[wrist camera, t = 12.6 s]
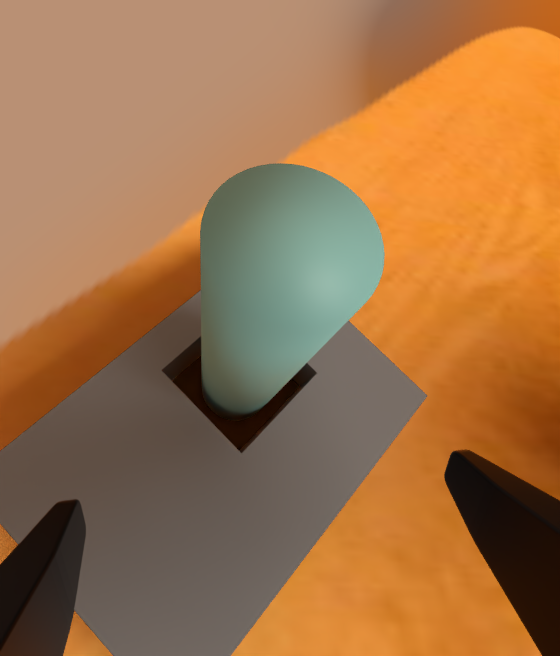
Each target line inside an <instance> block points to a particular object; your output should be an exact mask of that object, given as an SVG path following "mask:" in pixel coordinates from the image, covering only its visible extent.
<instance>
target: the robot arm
mask: <svg viewBox="0 0 560 656" xmlns="http://www.w3.org/2000/svg"><path fill="white" fill-rule="evenodd" d="M444 477H445V482H446V485H447V487H448V489H449V491H450V493H451V495H452V497H453V499H454V501H455V503H456V505H457V507H458V509H459V512H460V514H461V516H462V518H463V520H464V522H465V524H466V526H467V528H468V530H469V532H470V534H471V536H472V538H473V540H474V542H475V544H476V545H477V547H478V549H479V551H480V552H481V554H482V556H483V557H484V559H485V561H486V562H487V564H488V566H489V567H490V569H491V571H492V572H493V574H494V576H495V577H496V579H497V581H498V582H499V584H500V586H501V587H502V589H503V591H504V592H505V594H506V596H507V597H508V599H509V601H510V603H511V604H512V606H513V608H514V609H515V611H516V613H517V614H518V616H519V618H520V619H521V621H522V623H523V624H524V626H525V628H526V629H527V631H528V633H529V634H530V636H531V638H532V639H533V641H534V643H535V644H536V646H537V648H538V650H539V651H540V653H541V655H542V656H560V501H559V500H558V499H556V498H554V497H552V496H551V495H549V494H547V493H545V492H543V491H542V490H540V489H538V488H536V487H534V486H533V485H531V484H529V483H527V482H525V481H524V480H522V479H520V478H518V477H517V476H515V475H513V474H511V473H509V472H508V471H506V470H504V469H502V468H500V467H499V466H497V465H495V464H493V463H491V462H490V461H488V460H486V459H484V458H483V457H481V456H479V455H477V454H475V453H474V452H472V451H470V450H458V451H453V452H452V453H451V455H450V458H449V461H448V464H447V467H446V471H445V476H444ZM85 538H86V523H85V519H84V515H83V511H82V507H81V503H80V501H79V500H78V499H72V500H64V501H59V502H57V503H56V504H55V505H54V506H53V507H52V508H51V509H50V510H49V511H48V512H47V513H46V514H45V516H44V517H43V518H42V519H41V520H40V521H39V522H38V523H37V524H36V525H35V527H34V528H33V529H32V530H31V531H30V532H29V533H28V534H27V535H26V537H25V538H24V539H23V540H22V541H21V542H20V543H19V544H18V545H17V547H16V548H15V549H14V550H13V551H12V552H11V553H10V554H9V555H8V557H7V558H6V559H5V560H4V561H3V562H2V563H1V564H0V656H63V653H64V649H65V645H66V642H67V638H68V634H69V630H70V626H71V622H72V618H73V613H74V607H75V602H76V595H77V589H78V583H79V576H80V570H81V563H82V557H83V551H84V544H85Z"/></svg>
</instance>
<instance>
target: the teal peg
mask: <svg viewBox="0 0 560 656" xmlns="http://www.w3.org/2000/svg"><path fill="white" fill-rule="evenodd" d="M200 250H201V365H202V394H203V398H204V400H205V402H206V404H207V406H208V407H209V408H210V409H211V411H213V412H214V413H215V414H216V415H218V416H220V417H222V418H224V419H227V420H235V421H237V420H244V419H247V418H250V417H252V416H254V415H255V414H256V413H258V412H259V411H260V410H261V409H262V408H263V407H264V406H265V405H266V404H267V403H268V402H269V401H270V400H271V399H272V398H273V397H274V396H275V395H276V394H277V393H278V392H279V391H280V390H281V389H282V388H283V386H284V385H285V384H286V383H287V382H288V381H289V380H290V379H291V378H292V377H293V376H294V375H295V374H296V373H297V372H298V371H299V370H300V369H301V368H302V367H303V366H304V365H305V364H306V363H307V362H308V361H309V360H310V359H311V358H312V357H313V356H314V355H315V354H316V353H317V352H318V351H319V350H320V349H321V348H322V347H323V346H324V345H325V344H326V343H327V342H328V341H329V340H330V339H331V338H332V337H333V336H334V335H335V334H336V332H337V331H338V330H339V329H340V328H341V327H342V326H343V325H344V324H345V323H346V322H347V321H348V320H349V319H350V318H351V317H352V316H353V315H354V314H355V313H356V312H357V311H358V310H359V309H360V308H361V307H362V306H363V305H364V304H365V303H366V302H367V301H368V299H369V298H370V297H371V296H372V294H373V293H374V291H375V289H376V288H377V286H378V284H379V281H380V278H381V276H382V271H383V266H384V245H383V241H382V236H381V233H380V230H379V227H378V225H377V223H376V221H375V219H374V217H373V215H372V214H371V212H370V211H369V209H368V208H367V206H366V205H365V204H364V203H363V201H362V200H361V199H360V198H359V197H358V196H357V195H356V194H355V193H354V192H353V191H352V190H351V189H349V188H348V187H347V186H345V185H344V184H343V183H341V182H340V181H338V180H336V179H335V178H333V177H331V176H329V175H327V174H325V173H323V172H320V171H318V170H315V169H312V168H308V167H305V166H300V165H294V164H267V165H261V166H257V167H253V168H250V169H247V170H245V171H242V172H240V173H238V174H236V175H235V176H233V177H231V178H230V179H228V180H227V181H226V182H225V183H223V184H222V185H221V186H220V187H219V188H218V190H217V191H216V192H215V193H214V194H213V196H212V197H211V199H210V200H209V202H208V204H207V206H206V208H205V211H204V214H203V218H202V222H201V230H200Z"/></svg>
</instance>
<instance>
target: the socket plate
mask: <svg viewBox="0 0 560 656" xmlns="http://www.w3.org/2000/svg"><path fill="white" fill-rule="evenodd" d="M200 356H201V290H200V291H199V292H198V293H197V294H195V295H194V296H193V297H192V298H190V299H189V300H188V301H187V302H185V303H184V304H183V305H182V306H180V307H179V308H178V309H177V310H175V311H174V312H173V313H172V314H170V315H169V316H168V317H167V318H165V319H164V320H163V321H162V322H160V323H159V324H158V325H157V326H155V327H154V328H153V329H152V330H150V331H149V332H148V333H147V334H145V335H144V336H143V337H142V338H140V339H139V340H138V341H137V342H135V343H134V344H133V345H132V346H131V347H129V348H128V349H127V350H126V351H124V352H123V353H122V354H121V355H119V356H118V357H117V358H116V359H114V360H113V361H112V362H111V363H109V364H108V365H107V366H106V367H104V368H103V369H102V370H101V371H99V372H98V373H97V374H96V375H94V376H93V377H92V378H91V379H89V380H88V381H87V382H86V383H84V384H83V385H82V386H81V387H79V388H78V389H77V390H76V391H74V392H73V393H72V394H71V395H69V396H68V397H67V398H66V399H64V400H63V401H62V402H61V403H60V404H58V405H57V406H56V407H55V408H53V409H52V410H51V411H50V412H48V413H47V414H46V415H45V416H43V417H42V418H41V419H40V420H38V421H37V422H36V423H35V424H33V425H32V426H31V427H30V428H28V429H27V430H26V431H25V432H23V433H22V434H21V435H20V436H18V437H17V438H16V439H15V440H13V441H12V442H11V443H10V444H8V445H7V446H6V447H5V448H3V449H2V450H1V451H0V524H1V525H2V526H3V527H4V529H5V530H6V531H7V532H8V533H9V534H10V536H11V537H12V538H13V539H14V540H15V541H16V543H17V544H19V543H20V542H21V541H22V540H23V539H24V538H25V537H26V535H27V534H28V533H29V532H30V531H31V530H32V529H33V528H34V527H35V525H36V524H37V523H38V522H39V521H40V520H41V519H42V518H43V517H44V516H45V514H46V513H47V512H48V511H49V510H50V509H51V508H52V507H53V506H54V505H55V504H56V503H57V502H59V501H64V500H72V499H78V500H79V501H80V503H81V507H82V511H83V515H84V519H85V523H86V538H85V544H84V551H83V557H82V563H81V570H80V576H79V583H78V589H77V595H76V602H75V607H74V610H75V611H76V613H77V614H78V615H79V616H80V617H81V618H82V620H83V621H84V622H85V623H86V624H87V625H88V627H89V628H90V629H91V630H92V631H93V632H94V634H95V635H96V636H97V637H98V638H99V639H100V641H101V642H102V643H103V644H104V645H105V646H106V648H107V649H108V650H109V651H110V652H111V653H112V655H113V656H231V654H232V653H233V652H234V650H235V649H236V648H237V646H238V645H239V644H240V642H241V641H242V640H243V638H244V637H245V636H246V635H247V633H248V632H249V631H250V629H251V628H252V627H253V625H254V624H255V623H256V621H257V620H258V619H259V617H260V616H261V615H262V613H263V612H264V611H265V609H266V608H267V607H268V605H269V604H270V603H271V602H272V600H273V599H274V598H275V596H276V595H277V594H278V592H279V591H280V590H281V588H282V587H283V586H284V584H285V583H286V582H287V580H288V579H289V578H290V576H291V575H292V574H293V573H294V571H295V570H296V569H297V567H298V566H299V565H300V563H301V562H302V561H303V559H304V558H305V557H306V555H307V554H308V553H309V551H310V550H311V549H312V547H313V546H314V545H315V544H316V542H317V541H318V540H319V538H320V537H321V536H322V534H323V533H324V532H325V530H326V529H327V528H328V526H329V525H330V524H331V522H332V521H333V520H334V518H335V517H336V516H337V514H338V513H339V512H340V511H341V509H342V508H343V507H344V505H345V504H346V503H347V501H348V500H349V499H350V497H351V496H352V495H353V493H354V492H355V491H356V489H357V488H358V487H359V485H360V484H361V483H362V482H363V480H364V479H365V478H366V476H367V475H368V474H369V472H370V471H371V470H372V468H373V467H374V466H375V464H376V463H377V462H378V460H379V459H380V458H381V456H382V455H383V454H384V453H385V451H386V450H387V449H388V447H389V446H390V445H391V443H392V442H393V441H394V439H395V438H396V437H397V435H398V434H399V433H400V431H401V430H402V429H403V427H404V426H405V425H406V424H407V422H408V421H409V420H410V418H411V417H412V416H413V414H414V413H415V412H416V410H417V409H418V408H419V406H420V405H421V404H422V402H423V401H424V400H425V398H426V397H427V395H426V394H425V393H424V392H423V391H422V390H421V389H420V388H419V387H418V386H417V385H416V384H415V383H414V382H412V381H411V380H410V379H409V378H408V377H407V376H406V375H405V374H404V373H403V372H402V371H401V370H400V369H399V368H398V367H397V366H396V365H395V364H394V363H392V362H391V361H390V360H389V359H388V358H387V357H386V356H385V355H384V354H383V353H382V352H381V351H380V350H379V349H378V348H377V347H376V346H375V345H374V344H372V343H371V342H370V341H369V340H368V339H367V338H366V337H365V336H364V335H363V334H362V333H361V332H360V331H359V330H358V329H357V328H356V327H355V326H354V325H352V324H351V323H350V322H349V321H347V322H346V323H345V324H344V325H343V326H342V327H341V328H340V329H339V330H338V331H337V332H336V334H335V335H334V336H333V337H332V338H331V339H330V340H329V341H328V342H327V343H326V344H325V345H324V346H323V347H322V348H321V349H320V350H319V351H318V352H317V353H316V354H315V355H314V356H313V357H312V358H311V359H310V360H309V361H308V362H307V363H306V364H305V365H304V366H303V367H302V368H301V369H300V370H299V371H298V372H297V373H296V374H295V375H294V376H293V377H292V379H293V380H294V381H295V382H296V383H297V384H298V385H299V386H300V387H299V388H298V389H297V390H296V391H295V392H294V393H293V394H292V395H291V396H290V398H289V399H288V400H287V401H286V402H285V403H284V404H283V405H282V406H281V407H280V408H279V409H278V410H277V411H276V412H275V413H274V414H273V416H272V417H271V418H270V419H269V420H268V421H267V422H266V423H265V424H264V425H263V426H262V427H261V428H260V429H259V430H258V431H257V432H256V434H255V435H254V436H253V437H252V438H251V439H250V440H249V441H248V442H247V443H246V444H245V445H244V446H243V447H242V448H241V449H240V450H238V449H237V448H236V447H235V446H234V445H233V444H232V443H231V442H230V441H229V440H228V439H227V438H226V437H225V436H224V435H223V434H222V433H221V432H220V430H219V429H218V428H217V427H216V426H215V425H214V424H213V423H212V422H211V421H210V420H209V419H208V418H207V417H206V416H205V415H204V414H203V413H202V412H201V411H200V410H199V409H198V408H197V407H196V406H195V405H194V404H193V403H192V401H191V400H190V399H189V398H188V397H187V396H186V395H185V394H184V393H183V392H182V391H181V390H180V389H179V388H178V387H177V386H176V385H175V384H174V383H173V382H172V381H173V380H174V379H175V378H176V377H177V376H178V375H180V374H181V373H182V372H183V371H184V370H185V369H186V368H187V367H189V366H190V365H191V364H192V363H193V362H194V361H195V360H196V359H198V358H199V357H200Z"/></svg>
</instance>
